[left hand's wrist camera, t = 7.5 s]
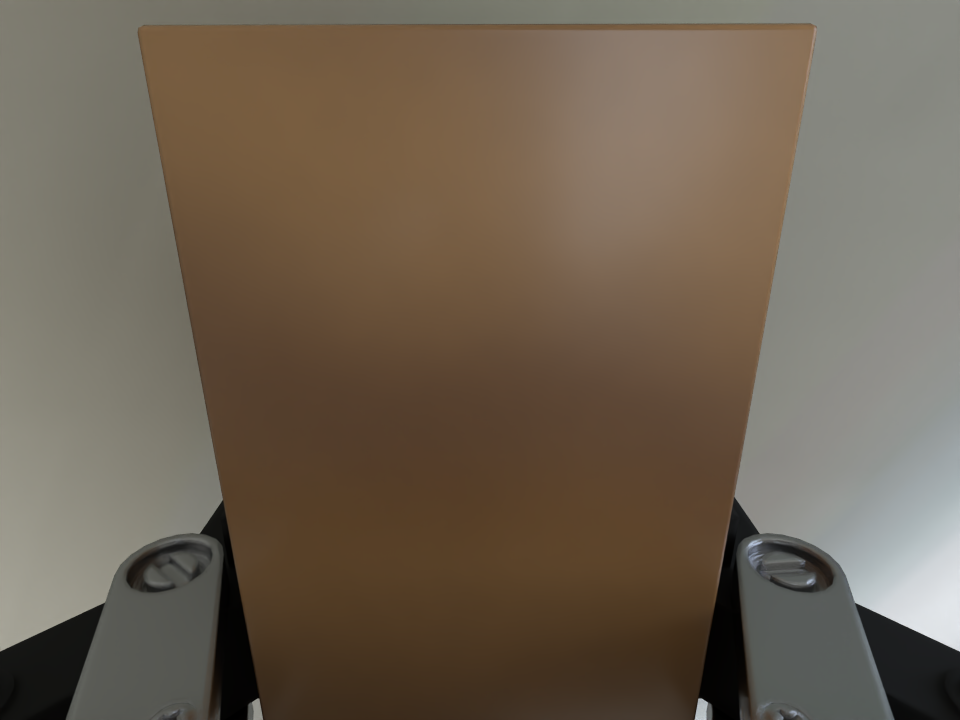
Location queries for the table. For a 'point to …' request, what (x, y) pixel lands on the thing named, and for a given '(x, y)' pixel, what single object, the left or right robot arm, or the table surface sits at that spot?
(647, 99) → the bar
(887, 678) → the left robot arm
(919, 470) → the table surface
